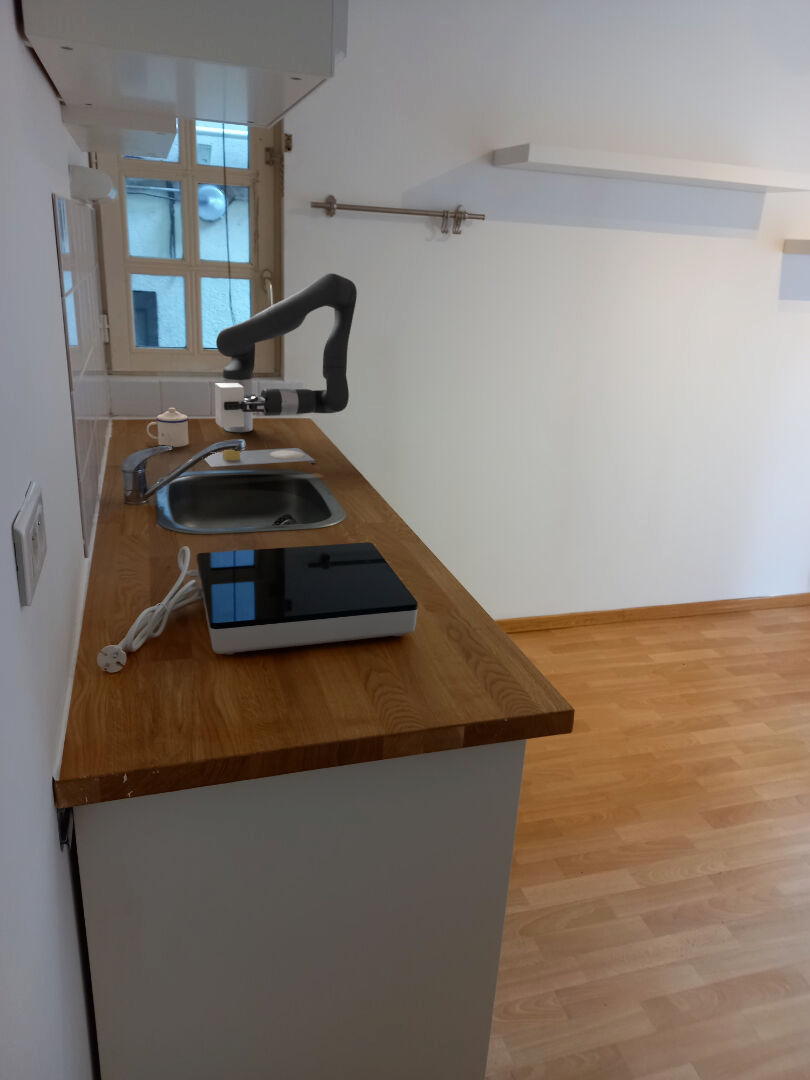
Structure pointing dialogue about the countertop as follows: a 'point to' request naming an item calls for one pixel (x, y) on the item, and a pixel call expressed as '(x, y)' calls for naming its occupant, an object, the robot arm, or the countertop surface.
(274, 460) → the board
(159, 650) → the countertop surface
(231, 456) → the block
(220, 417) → the white tall block
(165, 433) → the teacup with lid
